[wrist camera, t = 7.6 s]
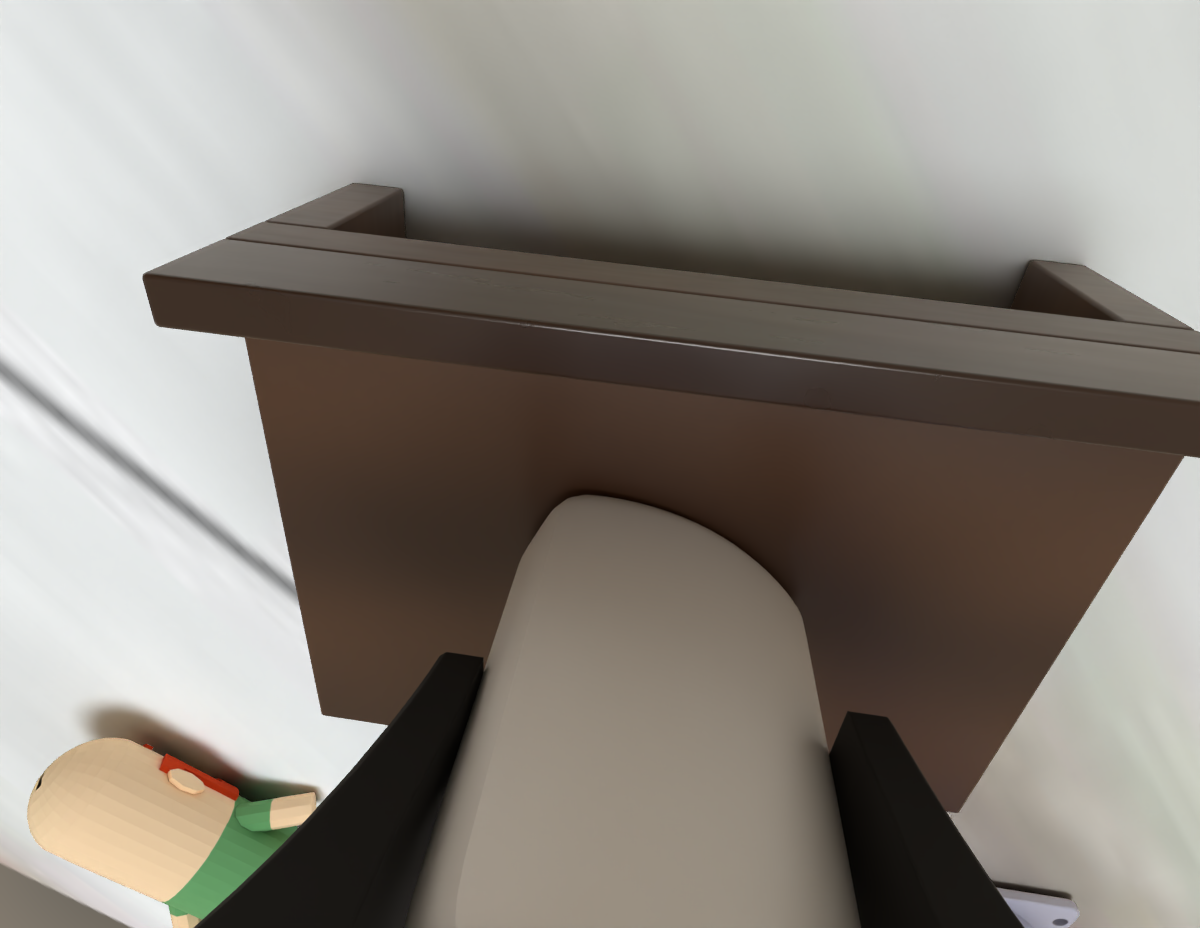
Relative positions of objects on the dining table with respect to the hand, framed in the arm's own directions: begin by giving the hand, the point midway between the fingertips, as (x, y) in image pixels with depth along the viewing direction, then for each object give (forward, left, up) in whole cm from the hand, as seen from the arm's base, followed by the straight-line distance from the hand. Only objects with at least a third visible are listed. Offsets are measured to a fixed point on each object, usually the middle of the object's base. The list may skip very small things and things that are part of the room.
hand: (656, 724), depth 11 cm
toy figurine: (-19, +16, -9) cm, 26 cm away
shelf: (0, 0, -8) cm, 8 cm away
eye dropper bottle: (0, 0, -4) cm, 4 cm away
